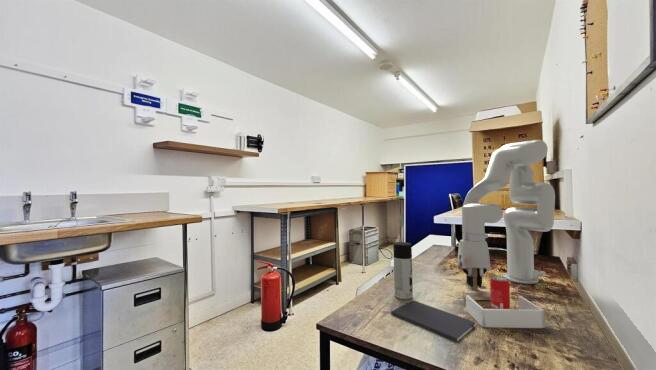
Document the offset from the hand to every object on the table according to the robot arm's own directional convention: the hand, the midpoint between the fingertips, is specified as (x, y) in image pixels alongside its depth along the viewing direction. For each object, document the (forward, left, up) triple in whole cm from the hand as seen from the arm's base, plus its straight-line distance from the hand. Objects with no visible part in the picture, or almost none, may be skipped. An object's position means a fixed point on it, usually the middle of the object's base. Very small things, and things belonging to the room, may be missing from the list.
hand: (474, 285), depth 103 cm
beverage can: (0, +17, -4) cm, 17 cm away
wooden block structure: (0, +2, -3) cm, 4 cm away
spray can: (+27, +2, -4) cm, 27 cm away
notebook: (+22, +20, -4) cm, 30 cm away
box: (0, +18, -4) cm, 19 cm away
